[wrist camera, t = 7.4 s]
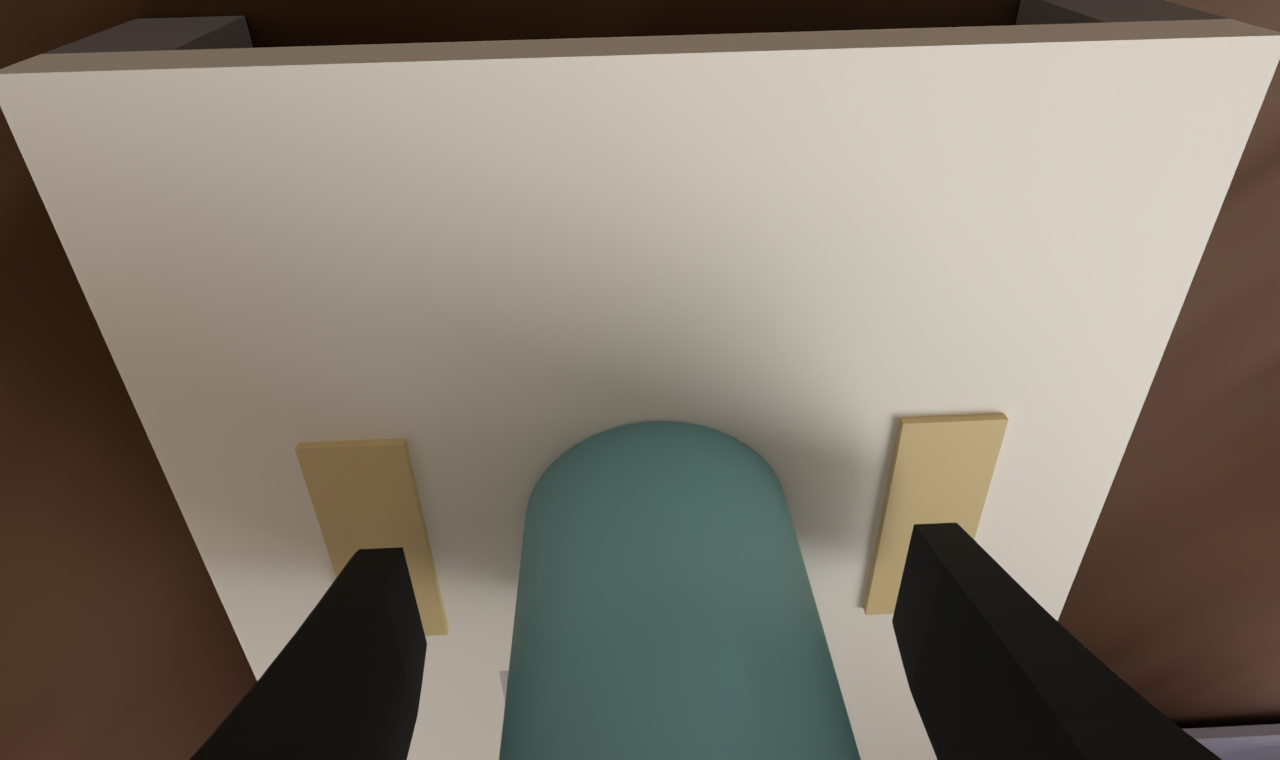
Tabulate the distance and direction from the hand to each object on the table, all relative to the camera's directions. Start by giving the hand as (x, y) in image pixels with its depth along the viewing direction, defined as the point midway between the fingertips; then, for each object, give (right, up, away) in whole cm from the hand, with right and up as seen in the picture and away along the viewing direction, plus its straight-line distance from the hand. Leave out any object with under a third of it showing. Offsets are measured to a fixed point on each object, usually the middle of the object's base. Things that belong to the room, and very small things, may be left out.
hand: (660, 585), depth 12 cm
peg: (0, +3, +4) cm, 4 cm away
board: (0, 0, +5) cm, 5 cm away
